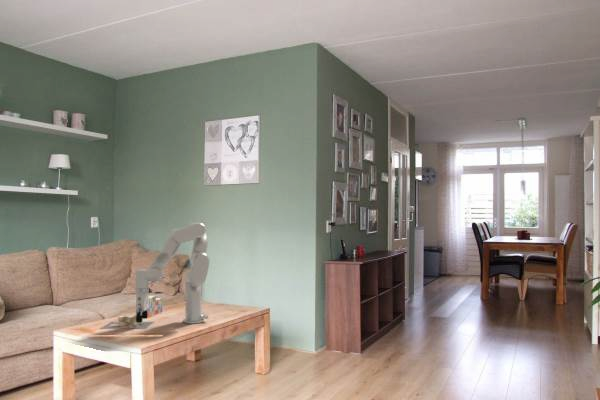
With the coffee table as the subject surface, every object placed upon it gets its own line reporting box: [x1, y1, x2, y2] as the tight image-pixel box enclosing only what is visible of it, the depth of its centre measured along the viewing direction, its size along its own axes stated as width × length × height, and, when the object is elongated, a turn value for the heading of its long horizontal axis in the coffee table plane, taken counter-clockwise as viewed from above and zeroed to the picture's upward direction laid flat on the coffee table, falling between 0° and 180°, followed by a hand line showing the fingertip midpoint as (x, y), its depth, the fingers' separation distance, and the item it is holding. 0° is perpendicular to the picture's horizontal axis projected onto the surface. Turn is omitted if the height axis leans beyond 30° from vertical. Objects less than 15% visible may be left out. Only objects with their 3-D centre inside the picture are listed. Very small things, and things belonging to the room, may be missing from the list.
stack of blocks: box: [142, 295, 163, 318], centre depth 321 cm, size 21×6×12 cm, turn 170°
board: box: [99, 321, 155, 330], centre depth 288 cm, size 26×18×1 cm
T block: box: [117, 314, 144, 328], centre depth 288 cm, size 12×12×5 cm
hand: (141, 320), depth 288 cm, fingers open, 9 cm apart
